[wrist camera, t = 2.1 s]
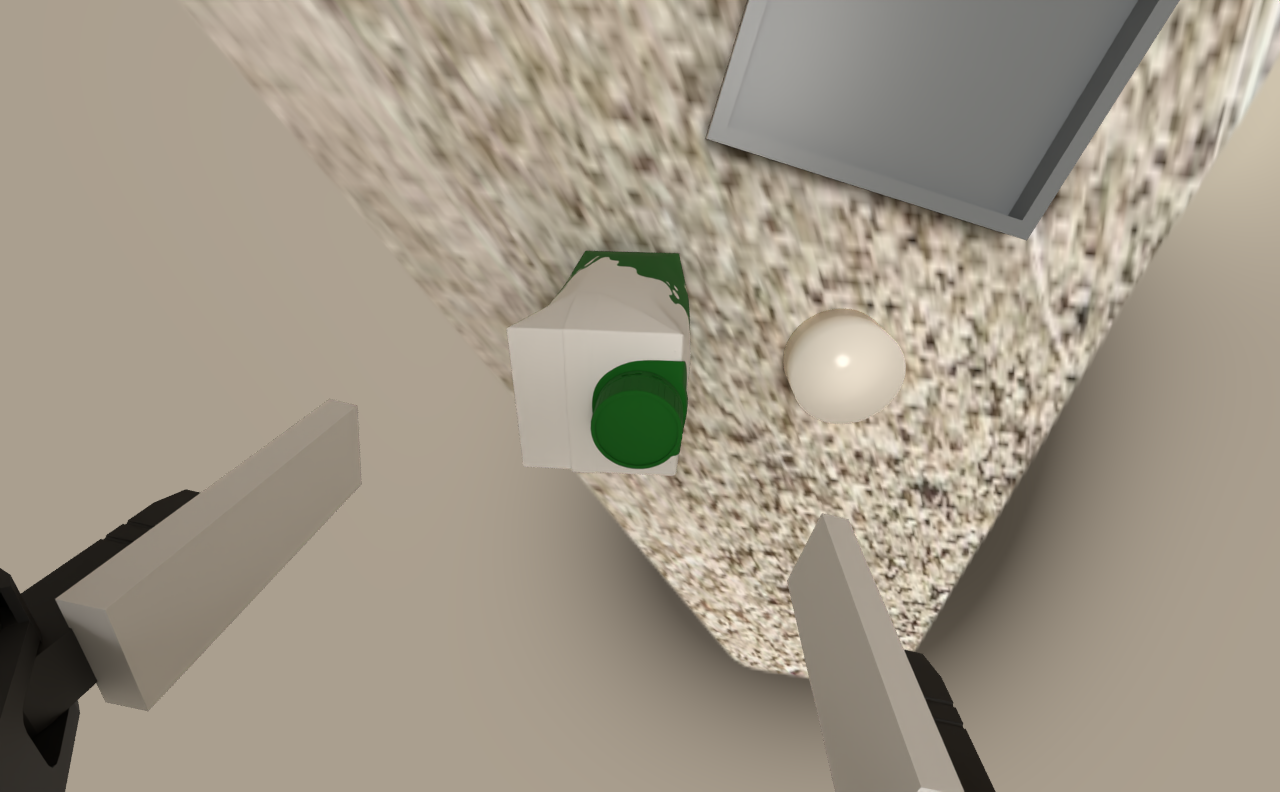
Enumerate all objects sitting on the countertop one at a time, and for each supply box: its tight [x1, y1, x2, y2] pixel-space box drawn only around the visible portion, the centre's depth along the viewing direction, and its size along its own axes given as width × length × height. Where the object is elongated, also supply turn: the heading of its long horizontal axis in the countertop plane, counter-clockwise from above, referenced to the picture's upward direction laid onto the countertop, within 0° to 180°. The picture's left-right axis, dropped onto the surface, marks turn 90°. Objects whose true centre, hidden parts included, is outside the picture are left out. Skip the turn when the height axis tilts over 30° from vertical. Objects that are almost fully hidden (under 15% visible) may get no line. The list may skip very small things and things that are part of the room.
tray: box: [705, 0, 1180, 240], centre depth 29 cm, size 22×16×2 cm
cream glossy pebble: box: [783, 309, 906, 424], centre depth 38 cm, size 8×8×4 cm
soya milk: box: [507, 251, 691, 476], centre depth 30 cm, size 9×9×20 cm
